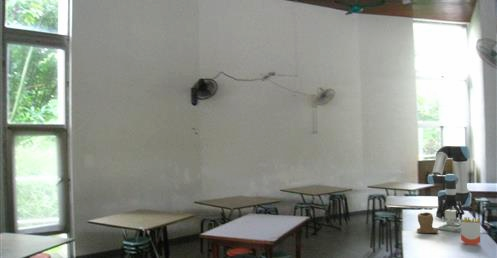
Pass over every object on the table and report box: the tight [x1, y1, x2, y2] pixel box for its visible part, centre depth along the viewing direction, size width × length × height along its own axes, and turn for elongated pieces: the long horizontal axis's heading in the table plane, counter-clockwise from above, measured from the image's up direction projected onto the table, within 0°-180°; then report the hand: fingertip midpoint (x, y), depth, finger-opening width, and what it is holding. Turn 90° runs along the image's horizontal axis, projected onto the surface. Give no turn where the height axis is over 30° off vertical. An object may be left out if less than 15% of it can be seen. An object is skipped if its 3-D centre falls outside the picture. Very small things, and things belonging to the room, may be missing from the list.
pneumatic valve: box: [441, 209, 459, 225], centre depth 320 cm, size 6×12×12 cm, turn 61°
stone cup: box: [416, 211, 439, 234], centre depth 309 cm, size 15×12×15 cm
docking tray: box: [437, 223, 461, 234], centre depth 320 cm, size 17×16×2 cm
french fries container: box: [460, 216, 481, 246], centre depth 277 cm, size 5×11×18 cm, turn 70°
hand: (451, 222), depth 320 cm, fingers closed on pneumatic valve, 11 cm apart
